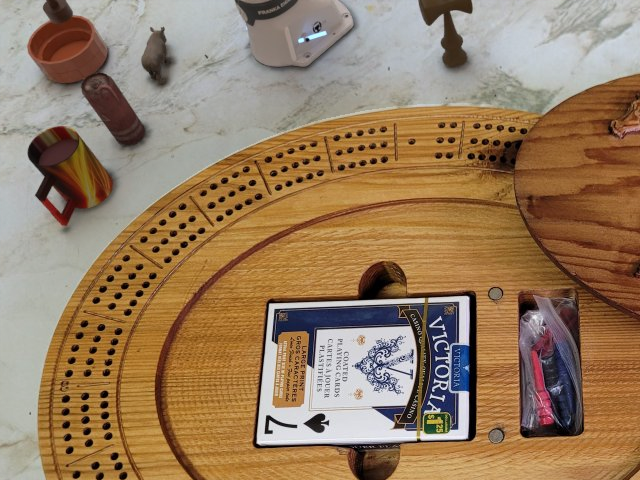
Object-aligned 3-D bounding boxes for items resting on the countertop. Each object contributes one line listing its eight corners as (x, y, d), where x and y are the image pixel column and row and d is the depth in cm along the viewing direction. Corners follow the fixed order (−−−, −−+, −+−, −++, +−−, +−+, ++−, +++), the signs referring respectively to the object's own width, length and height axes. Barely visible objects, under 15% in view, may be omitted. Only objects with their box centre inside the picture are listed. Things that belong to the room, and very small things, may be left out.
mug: (65, 231, 156) (27, 190, 146) (63, 177, 163) (27, 134, 152) (115, 217, 157) (81, 175, 146) (111, 164, 163) (78, 120, 152)
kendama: (482, 62, 167) (470, -25, 150) (437, 77, 167) (420, -8, 149) (472, 43, 170) (459, -44, 152) (428, 58, 169) (410, -29, 151)
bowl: (91, 28, 182) (76, 5, 176) (120, 61, 176) (106, 38, 171) (33, 61, 178) (16, 38, 173) (61, 96, 173) (44, 74, 167)
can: (140, 148, 164) (104, 96, 152) (112, 145, 165) (73, 92, 153) (152, 125, 167) (117, 72, 154) (124, 122, 168) (87, 69, 155)
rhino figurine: (178, 38, 178) (165, 14, 173) (167, 84, 172) (154, 62, 166) (160, 39, 178) (146, 16, 173) (148, 86, 172) (134, 63, 167)
